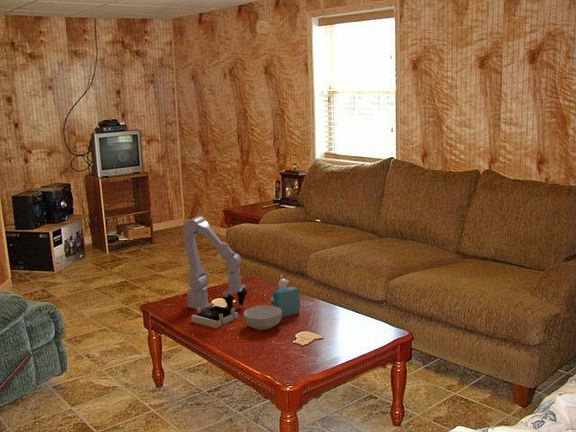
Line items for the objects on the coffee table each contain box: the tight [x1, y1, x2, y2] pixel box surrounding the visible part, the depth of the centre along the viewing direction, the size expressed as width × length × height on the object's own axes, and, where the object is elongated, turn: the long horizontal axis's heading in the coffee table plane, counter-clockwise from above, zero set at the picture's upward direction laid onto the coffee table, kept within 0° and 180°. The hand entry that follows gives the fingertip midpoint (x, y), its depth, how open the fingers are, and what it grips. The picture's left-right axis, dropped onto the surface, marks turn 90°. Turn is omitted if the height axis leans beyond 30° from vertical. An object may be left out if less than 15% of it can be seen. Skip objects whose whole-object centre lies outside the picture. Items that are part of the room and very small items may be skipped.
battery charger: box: [196, 305, 231, 321], centre depth 292 cm, size 13×10×4 cm
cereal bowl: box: [243, 305, 283, 331], centre depth 281 cm, size 17×17×7 cm
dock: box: [191, 302, 239, 329], centre depth 291 cm, size 16×15×5 cm
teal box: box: [272, 286, 301, 319], centre depth 295 cm, size 12×4×12 cm, turn 125°
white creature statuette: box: [270, 278, 290, 304], centre depth 312 cm, size 10×9×12 cm
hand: (235, 307), depth 303 cm, fingers open, 7 cm apart
